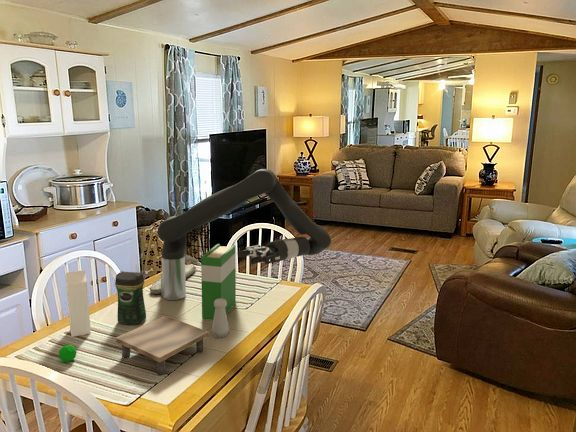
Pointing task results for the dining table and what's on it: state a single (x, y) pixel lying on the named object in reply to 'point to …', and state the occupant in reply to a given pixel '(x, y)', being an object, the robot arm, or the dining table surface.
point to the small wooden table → (162, 340)
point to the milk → (78, 303)
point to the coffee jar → (130, 298)
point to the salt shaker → (220, 319)
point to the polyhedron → (67, 353)
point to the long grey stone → (157, 285)
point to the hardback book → (218, 279)
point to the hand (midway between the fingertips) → (244, 257)
